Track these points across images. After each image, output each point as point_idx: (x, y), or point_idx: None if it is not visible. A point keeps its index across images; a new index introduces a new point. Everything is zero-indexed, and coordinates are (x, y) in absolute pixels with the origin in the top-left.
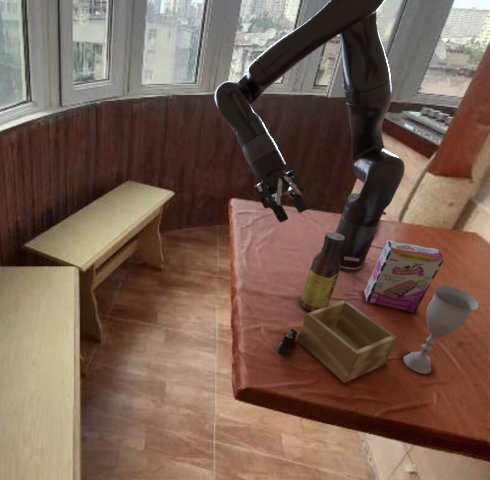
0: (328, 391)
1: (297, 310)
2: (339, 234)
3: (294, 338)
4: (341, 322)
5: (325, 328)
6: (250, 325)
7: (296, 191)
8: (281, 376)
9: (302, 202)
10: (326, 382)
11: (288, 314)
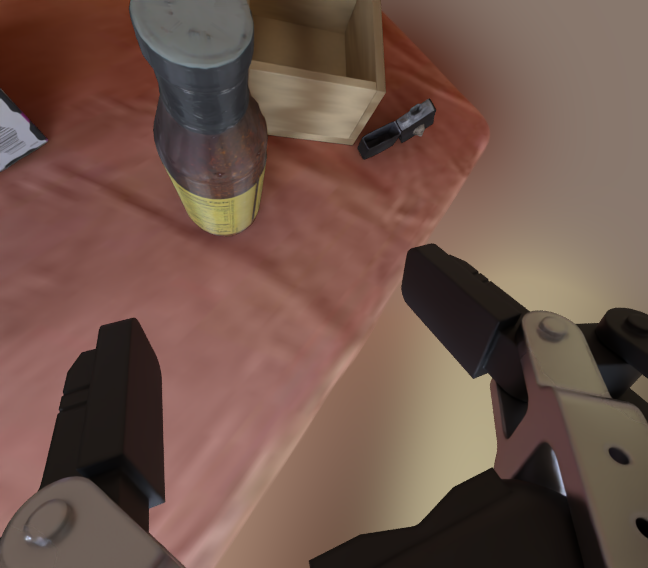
0: (386, 44)
1: (276, 213)
2: (147, 5)
3: (379, 131)
4: None
5: (382, 37)
6: (412, 224)
7: (133, 540)
8: (436, 105)
9: (125, 376)
10: None
11: (309, 212)
